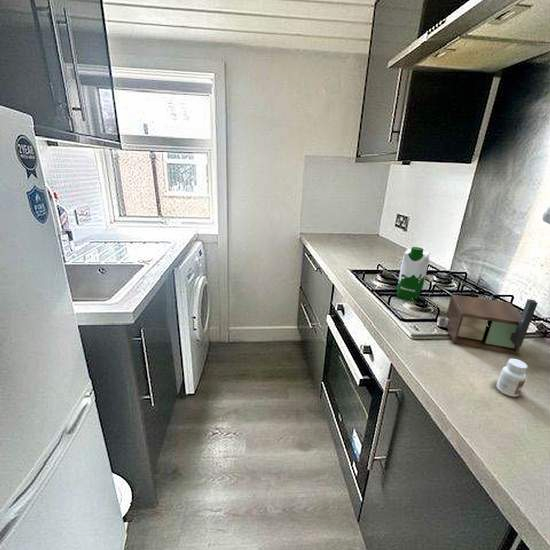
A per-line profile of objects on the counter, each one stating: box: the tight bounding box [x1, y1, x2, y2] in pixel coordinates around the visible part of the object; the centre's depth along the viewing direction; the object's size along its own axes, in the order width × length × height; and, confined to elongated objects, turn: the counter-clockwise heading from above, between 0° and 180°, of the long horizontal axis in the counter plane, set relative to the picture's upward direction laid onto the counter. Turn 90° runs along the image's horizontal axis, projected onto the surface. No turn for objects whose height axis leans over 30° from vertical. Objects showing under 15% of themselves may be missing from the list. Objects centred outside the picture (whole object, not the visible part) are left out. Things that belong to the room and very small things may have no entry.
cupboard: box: [445, 293, 522, 356], centre depth 90 cm, size 16×14×10 cm
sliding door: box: [485, 298, 538, 348], centre depth 81 cm, size 7×4×16 cm, turn 72°
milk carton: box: [396, 246, 430, 303], centre depth 115 cm, size 9×9×20 cm
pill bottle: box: [496, 358, 528, 397], centre depth 69 cm, size 4×4×8 cm
